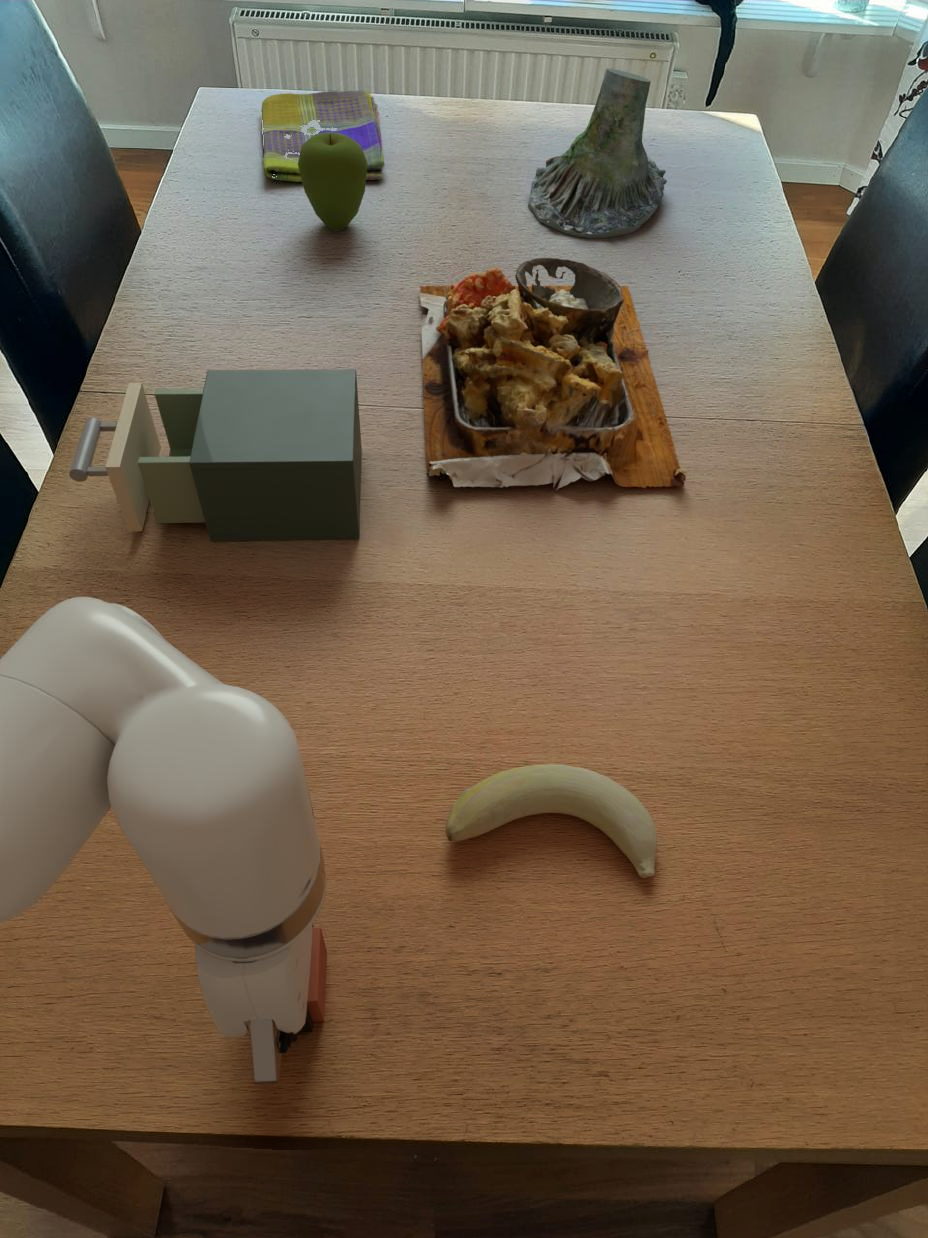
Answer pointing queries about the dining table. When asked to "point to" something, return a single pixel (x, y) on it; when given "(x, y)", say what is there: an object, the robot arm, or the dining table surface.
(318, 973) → the block
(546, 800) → the fruit
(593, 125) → the tree stump
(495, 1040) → the dining table surface
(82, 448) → the drawer
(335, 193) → the apple
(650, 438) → the food tray
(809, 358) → the dining table surface
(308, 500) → the cabinet
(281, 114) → the dish towel
